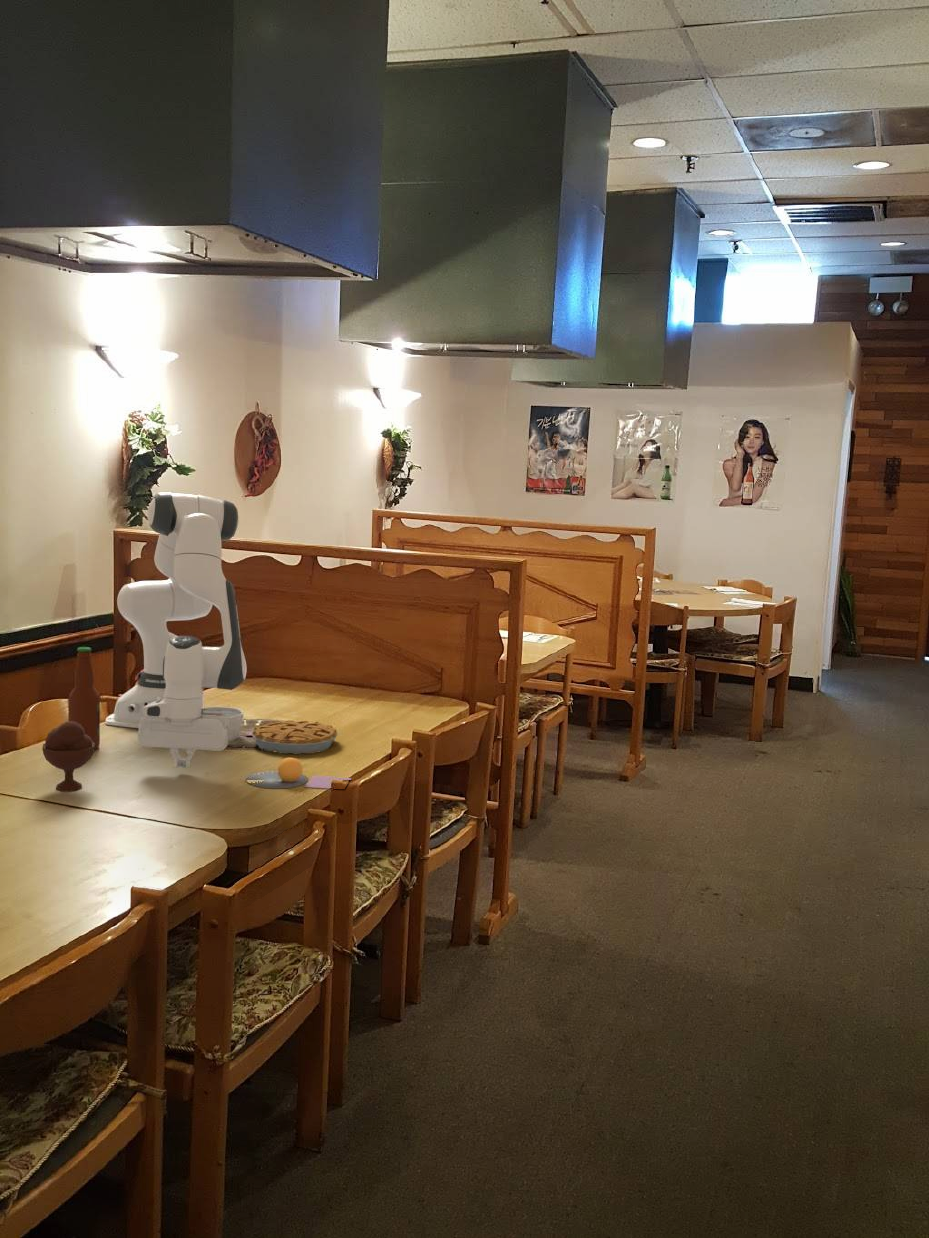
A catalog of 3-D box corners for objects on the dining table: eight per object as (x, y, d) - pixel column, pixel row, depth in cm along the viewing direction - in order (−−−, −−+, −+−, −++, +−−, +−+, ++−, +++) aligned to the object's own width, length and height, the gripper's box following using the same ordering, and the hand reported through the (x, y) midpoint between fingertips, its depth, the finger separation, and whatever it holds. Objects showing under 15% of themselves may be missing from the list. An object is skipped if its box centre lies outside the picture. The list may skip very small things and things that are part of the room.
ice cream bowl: (105, 784, 244) (105, 717, 242) (72, 797, 233) (72, 728, 231) (65, 777, 247) (65, 712, 245) (31, 790, 237) (30, 722, 235)
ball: (301, 766, 249) (292, 788, 249) (309, 761, 254) (300, 782, 255) (279, 756, 249) (270, 778, 250) (287, 751, 255) (279, 773, 256)
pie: (321, 760, 273) (321, 740, 272) (237, 751, 277) (238, 732, 276) (347, 739, 294) (348, 721, 293) (270, 732, 298) (270, 713, 297)
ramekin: (217, 747, 280) (217, 720, 279) (179, 738, 286) (180, 712, 286) (253, 737, 291) (253, 711, 290) (216, 729, 298) (217, 704, 297)
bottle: (106, 746, 274) (106, 647, 271) (84, 753, 268) (84, 651, 264) (83, 742, 277) (83, 644, 274) (61, 748, 271) (61, 648, 267)
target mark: (238, 786, 247) (238, 785, 247) (254, 769, 261) (254, 768, 261) (300, 790, 246) (300, 789, 246) (313, 773, 260) (313, 772, 260)
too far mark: (305, 787, 249) (305, 786, 249) (313, 776, 258) (313, 775, 258) (344, 790, 248) (344, 789, 248) (351, 779, 257) (351, 778, 257)
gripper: (232, 707, 255) (231, 765, 257) (145, 702, 256) (144, 760, 258) (224, 713, 249) (223, 773, 251) (135, 708, 250) (135, 767, 252)
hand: (182, 766), depth 255 cm, fingers closed
